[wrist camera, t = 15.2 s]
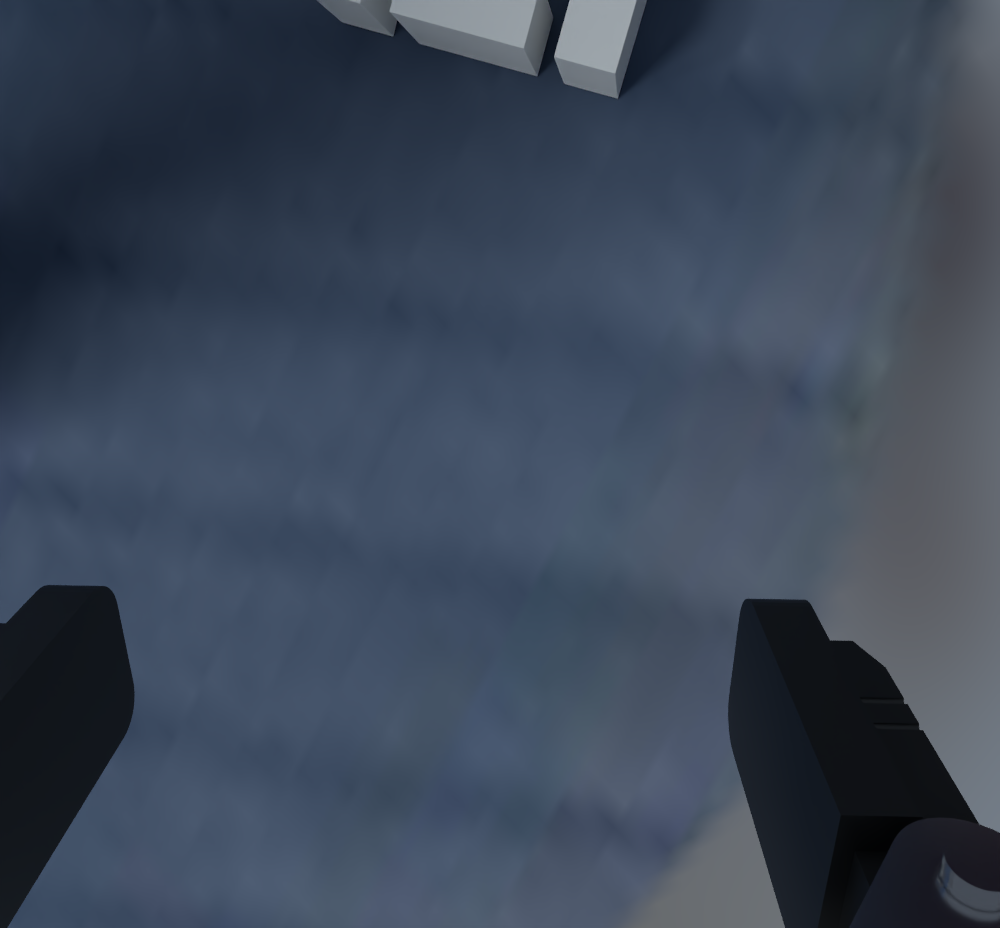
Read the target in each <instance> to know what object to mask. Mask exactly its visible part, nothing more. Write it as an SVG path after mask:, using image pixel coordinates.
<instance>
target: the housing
mask: <svg viewBox="0 0 1000 928" xmlns="http://www.w3.org/2000/svg"><path fill="white" fill-rule="evenodd" d="M317 1H318V2H319V3H320V4H321V5H322V6H324V7H325V8H326V9H327V10H328V11H329V12H331V13H332V14H333V15H334V16H335V17H336V18H337V19H339V20H340V21H341V22H342V23H346V24H350V25H353V26H357V27H360V28H364V29H368V30H371V31H375V32H378V33H382V34H386V35H389V36H394V32H395V28H396V23H397V20H398V21H399V23H400V24H401V25H402V26H403V27H404V28H405V29H406V30H407V31H408V32H409V33H410V34H411V35H412V37H413V38H414V39H415V40H416V41H417V42H418V43H419V44H422V45H425V46H429V47H433V48H436V49H440V50H443V51H447V52H451V53H454V54H458V55H462V56H465V57H469V58H472V59H476V60H480V61H483V62H487V63H490V64H494V65H498V66H501V67H505V68H509V69H512V70H516V71H519V72H523V73H527V74H530V75H534V76H538V73H539V69H540V65H541V62H542V58H543V54H544V51H545V47H546V43H547V40H548V36H549V33H550V29H551V25H552V22H553V15H552V12H551V9H550V5H549V2H548V0H317ZM646 2H647V0H570V1H569V4H568V8H567V12H566V15H565V19H564V22H563V26H562V30H561V33H560V37H559V40H558V44H557V48H556V51H555V55H554V58H555V61H556V64H557V66H558V69H559V72H560V74H561V77H562V80H563V82H564V84H566V85H570V86H574V87H577V88H581V89H584V90H588V91H592V92H595V93H599V94H603V95H606V96H610V97H613V98H617V99H618V96H619V93H620V90H621V86H622V83H623V80H624V76H625V73H626V69H627V66H628V63H629V59H630V56H631V53H632V49H633V46H634V42H635V39H636V36H637V32H638V29H639V26H640V22H641V19H642V15H643V12H644V9H645V5H646Z"/></svg>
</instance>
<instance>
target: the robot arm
mask: <svg viewBox="0 0 1000 928" xmlns="http://www.w3.org/2000/svg"><path fill="white" fill-rule="evenodd" d="M133 708H134V684H133V678H132V673H131V668H130V664H129V659H128V654H127V649H126V644H125V639H124V634H123V629H122V624H121V620H120V615H119V610H118V605H117V601H116V598H115V596H114V594H113V592H112V591H111V590H110V589H109V588H108V587H106V586H69V585H46V586H43V587H41V588H40V589H39V590H38V591H36V592H35V594H34V595H33V596H32V597H31V598H30V599H29V600H28V601H27V602H26V603H25V604H24V605H23V606H22V607H21V608H20V609H19V610H18V611H17V612H16V613H15V614H14V616H13V617H12V618H11V619H10V620H9V621H8V622H7V623H6V624H5V623H0V928H7V927H8V926H9V924H10V922H11V921H12V919H13V917H14V916H15V914H16V913H17V911H18V909H19V908H20V906H21V904H22V903H23V901H24V900H25V898H26V896H27V895H28V893H29V891H30V890H31V888H32V886H33V885H34V883H35V882H36V880H37V878H38V877H39V875H40V873H41V872H42V870H43V869H44V867H45V865H46V864H47V862H48V860H49V859H50V857H51V855H52V854H53V852H54V851H55V849H56V847H57V846H58V844H59V842H60V841H61V839H62V838H63V836H64V834H65V833H66V831H67V829H68V828H69V826H70V824H71V823H72V821H73V820H74V818H75V816H76V815H77V813H78V811H79V810H80V808H81V807H82V805H83V803H84V802H85V800H86V798H87V797H88V795H89V793H90V792H91V790H92V789H93V787H94V785H95V784H96V782H97V780H98V779H99V777H100V776H101V774H102V772H103V771H104V769H105V767H106V766H107V764H108V763H109V761H110V759H111V758H112V756H113V754H114V753H115V751H116V749H117V748H118V746H119V745H120V743H121V741H122V740H123V738H124V736H125V734H126V733H127V730H128V728H129V725H130V722H131V718H132V714H133ZM728 721H729V733H730V741H731V746H732V750H733V754H734V757H735V761H736V764H737V767H738V771H739V774H740V777H741V781H742V784H743V788H744V791H745V794H746V798H747V801H748V804H749V808H750V811H751V814H752V818H753V821H754V824H755V828H756V831H757V834H758V838H759V841H760V844H761V848H762V851H763V854H764V858H765V861H766V865H767V868H768V871H769V875H770V878H771V882H772V885H773V888H774V892H775V895H776V898H777V901H778V905H779V908H780V912H781V915H782V918H783V921H784V925H785V928H1000V833H999V832H997V831H995V830H993V829H990V828H988V827H985V826H982V825H980V824H979V823H978V822H977V820H976V818H975V817H974V815H973V813H972V811H971V810H970V808H969V806H968V805H967V803H966V801H965V800H964V798H963V796H962V795H961V793H960V791H959V790H958V788H957V786H956V785H955V783H954V781H953V780H952V778H951V776H950V775H949V773H948V771H947V770H946V768H945V766H944V765H943V763H942V761H941V760H940V758H939V757H938V755H937V753H936V751H935V750H934V748H933V746H932V745H931V743H930V741H929V739H928V738H927V737H926V735H925V733H924V731H923V730H919V723H918V721H917V719H916V718H915V716H914V714H913V713H912V711H911V709H910V708H909V706H908V704H904V698H903V696H902V694H901V693H900V691H899V689H898V688H897V686H896V685H895V683H894V681H893V679H892V678H891V676H890V674H889V673H888V671H887V669H886V668H885V667H884V666H883V665H882V664H881V663H879V662H878V661H877V660H876V659H874V658H873V657H872V656H871V655H869V654H868V653H867V652H865V651H864V650H863V649H862V648H860V647H859V646H858V645H857V644H856V643H854V642H853V641H830V640H829V638H828V636H827V634H826V632H825V630H824V628H823V627H822V625H821V623H820V621H819V619H818V617H817V615H816V613H815V611H814V609H813V608H812V606H811V604H810V603H809V602H808V601H807V600H787V599H746V600H745V601H744V602H743V604H742V607H741V611H740V617H739V624H738V632H737V640H736V647H735V655H734V663H733V671H732V678H731V686H730V694H729V705H728Z"/></svg>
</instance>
